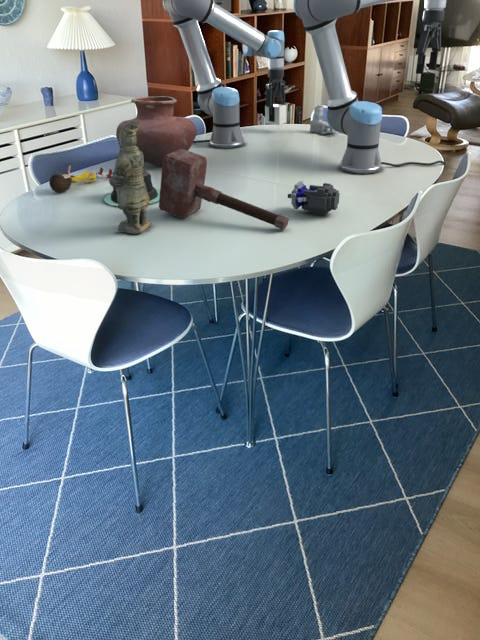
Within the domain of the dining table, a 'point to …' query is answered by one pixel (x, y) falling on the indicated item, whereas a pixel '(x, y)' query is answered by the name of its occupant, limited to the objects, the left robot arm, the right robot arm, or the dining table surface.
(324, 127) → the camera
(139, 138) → the clay pot
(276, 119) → the brick
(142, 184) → the statue
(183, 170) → the sledgehammer
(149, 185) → the chocolate cake
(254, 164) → the dining table surface
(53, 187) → the figurine
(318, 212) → the toy
